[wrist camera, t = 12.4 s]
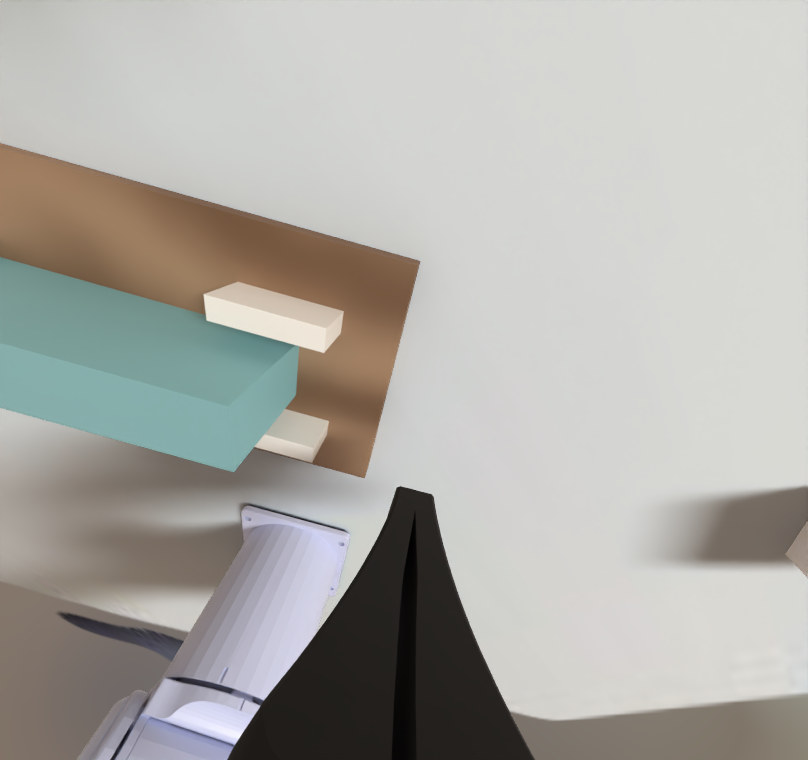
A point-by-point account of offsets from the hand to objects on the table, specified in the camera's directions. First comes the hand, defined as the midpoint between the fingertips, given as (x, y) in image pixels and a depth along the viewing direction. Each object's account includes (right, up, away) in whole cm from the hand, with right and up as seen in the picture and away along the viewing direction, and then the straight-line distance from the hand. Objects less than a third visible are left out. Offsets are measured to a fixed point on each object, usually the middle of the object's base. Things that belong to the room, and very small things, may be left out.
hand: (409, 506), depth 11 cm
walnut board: (-12, +8, +4) cm, 15 cm away
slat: (-13, +8, +3) cm, 15 cm away
